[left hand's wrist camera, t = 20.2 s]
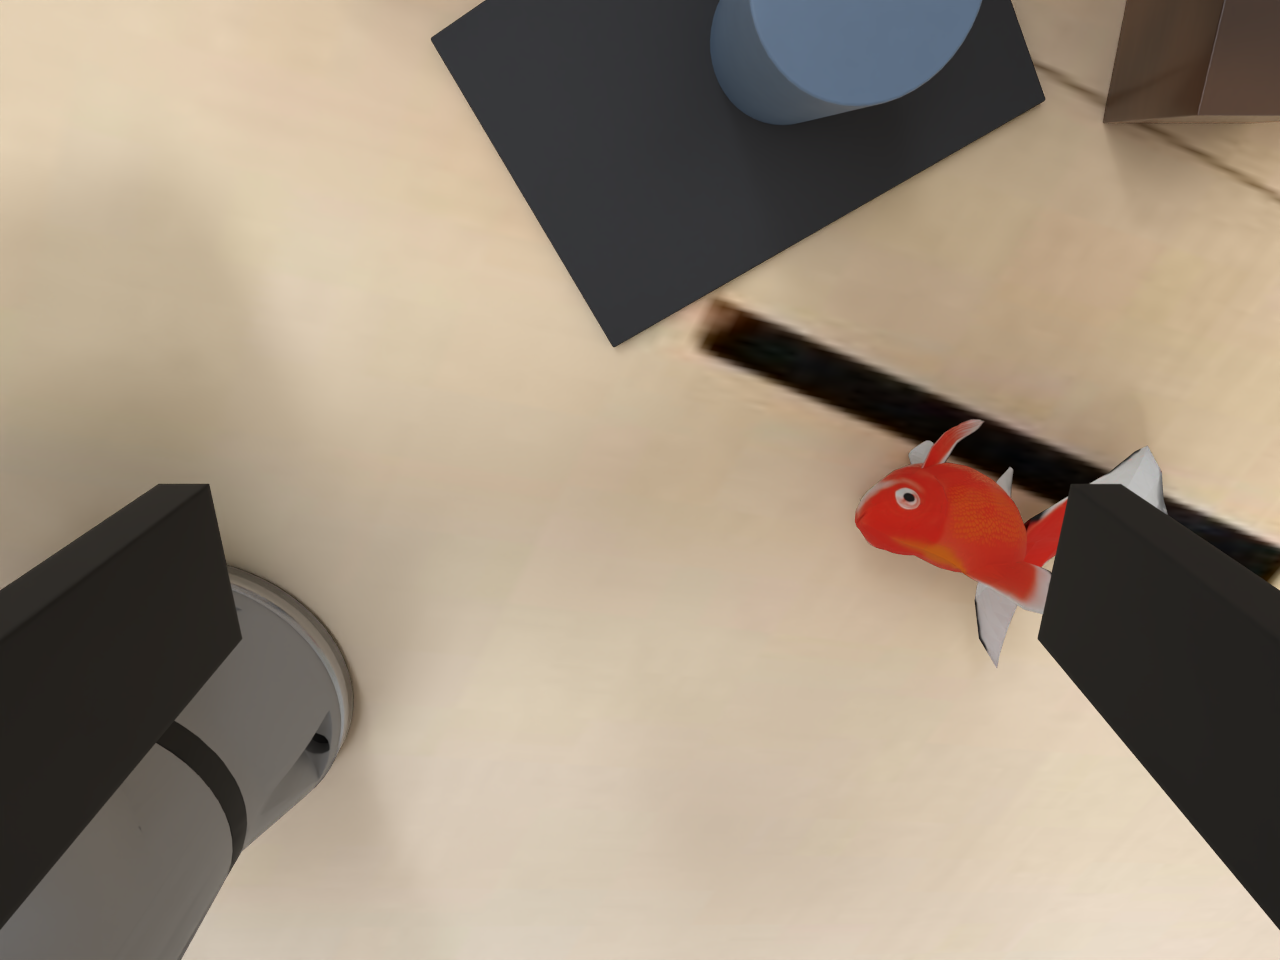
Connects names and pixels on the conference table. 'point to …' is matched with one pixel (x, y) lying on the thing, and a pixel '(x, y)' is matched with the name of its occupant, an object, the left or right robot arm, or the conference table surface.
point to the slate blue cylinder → (831, 52)
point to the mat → (695, 141)
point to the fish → (980, 526)
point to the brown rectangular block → (1197, 62)
